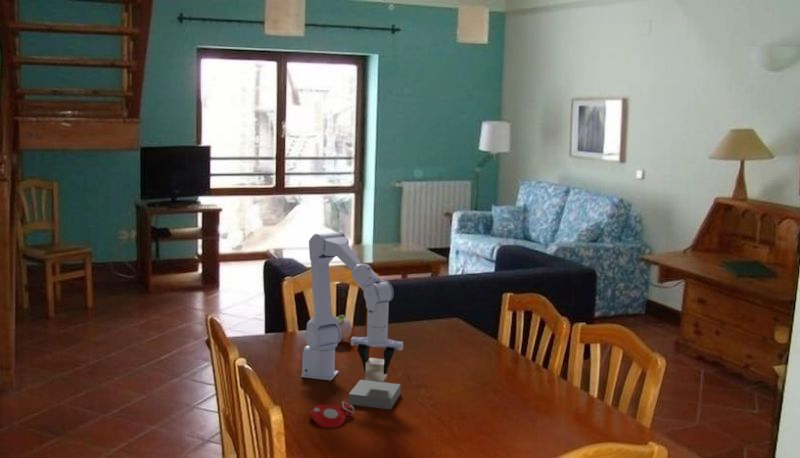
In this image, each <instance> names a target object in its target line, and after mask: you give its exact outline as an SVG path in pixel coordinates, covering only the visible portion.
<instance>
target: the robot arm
mask: <svg viewBox="0 0 800 458" xmlns="http://www.w3.org/2000/svg"><path fill="white" fill-rule="evenodd" d="M308 247H309V248H308V249H309V250H308V251H309V260H310V268H311V270H310V271H311V286H312V288H311V289H312V303H313V316H312V317H311V318H310V319H309V320H308V322H307V323H306V330H305V336H304V337H305V342H306V344H307V345H305V346H304V348H303V352H302V365H301V369H302V370H301V371H302V372H301V376H300V377H301V378H307V379H315V380H323V381H324V380H325V381H332V380H333V379H334V378H335V377H336V376H337V375H338V374H339V372H340V371H339V370H337V369H336V370H335V368H336V366H335V365H336V362H335V361H336V347H338V344H339V343H341V342H340V340H341V330H340V327H339V320H338V319H336V318H335V317H336V316H334V315H332V314H333V312H332V311H333V309H332V308H333V307H332V295H331V279H330V278H331V277H330V263H331V262H332V260H333V259H334V258H335V257H337V258H338V259H339V260H340V261H341V262H342V263H343V264H344V265H345V266H346V267H347V268H348V269H349V270H350V271H351V273H352V274H351V278H352V279H353V280H354V282H355V283H356V284H357V285H358V286H359V287H360V289H361V290H362V291H363V298H364V300H365V308H366V309H367V319H366V320H367V321H366V322H367V323H366V324H367V325H366V329H367V330H366V336H352V337H351V338H350V346H357V348H356V350H357V353H358V355H359V358H360V359H361V362H362V366H363V372H364V373H365V370H366V362H367V361H368V360H369V359H370V357H369V356H370V349H371V348H370V347H373V348H382V349H384V350H383V359H384V374H387V375H388V372H389V367H390V363H391V361H392V359H393V356H394V354H395V352H396V351H402V350H403V349H404V341H398V340H393V339H390V338H388V331H389V328H388V327H389V307H390V305H389V302H391V301H392V300H393V298H394V293H395V292H394V288H393V286H392V284H391V282H390V281H388V280H384V279H382V278H381V277H379V276H378V274H377V273H375V271H374V270H373V269H372V267H371V265H370V264H367V263H362V262H361V261H360V259H359V258H358V257H357V255H356V254H355V252H354V251H353V250H352V248H351V247H350V245H349V238H348V237H347V236H346V235H345V233H344V232H342V231H336V232H326V233H314V234H313V235H312V236H311V237H310V239H309V240H308Z"/></svg>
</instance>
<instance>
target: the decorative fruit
mask: <svg viewBox="0 0 800 458" xmlns="http://www.w3.org/2000/svg"><path fill="white" fill-rule="evenodd" d="M334 317H335V318H336V319H338V320H339V327H340V330H341V340H340V342H339V343H342V342H344V341H346V340H347V339H349V337H350V336H351V333H352V329H353V327H352V323H351V321H350V319H349V318H347V317H346V315H345V314H340V315H338V316H334Z"/></svg>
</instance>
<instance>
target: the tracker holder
mask: <svg viewBox="0 0 800 458" xmlns="http://www.w3.org/2000/svg"><path fill="white" fill-rule="evenodd" d="M354 414H355V407H354V405H350V404H348V402H346V401H343V400H342V401H341V404H340V405H339V406H334V405H326V404H325V405H324V404H318V405H316V406H314V407H313V408H312V409H311V410H310V412H309V413H308V416H309V417H310V418H312V420H313V422H315V423H316V424H317V426H320V427H321V428H323V429H334V428H335V429H336V428H339V427H342V426H343V425H344V423H345V422H346V421H345V420H346V417H350V416H351V415H354Z"/></svg>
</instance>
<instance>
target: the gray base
mask: <svg viewBox="0 0 800 458" xmlns="http://www.w3.org/2000/svg"><path fill="white" fill-rule="evenodd" d="M401 385H402V384H401V383H394V382H393V383H392V382H385V381H383V382H376V381H367V380H365V379H360V380H359V381H358V382H357V383H356V384H355V386H354V387H353V388H352V389H351V390H350V392H349V393H348V401H347V403H348V404H350V405H352V406H359V407H369V408H375V409H384V410H392V409H393V406H394V405H395V403H396V402H397V400H398V399H399V397H400V395H401V387H402V386H401Z"/></svg>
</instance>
